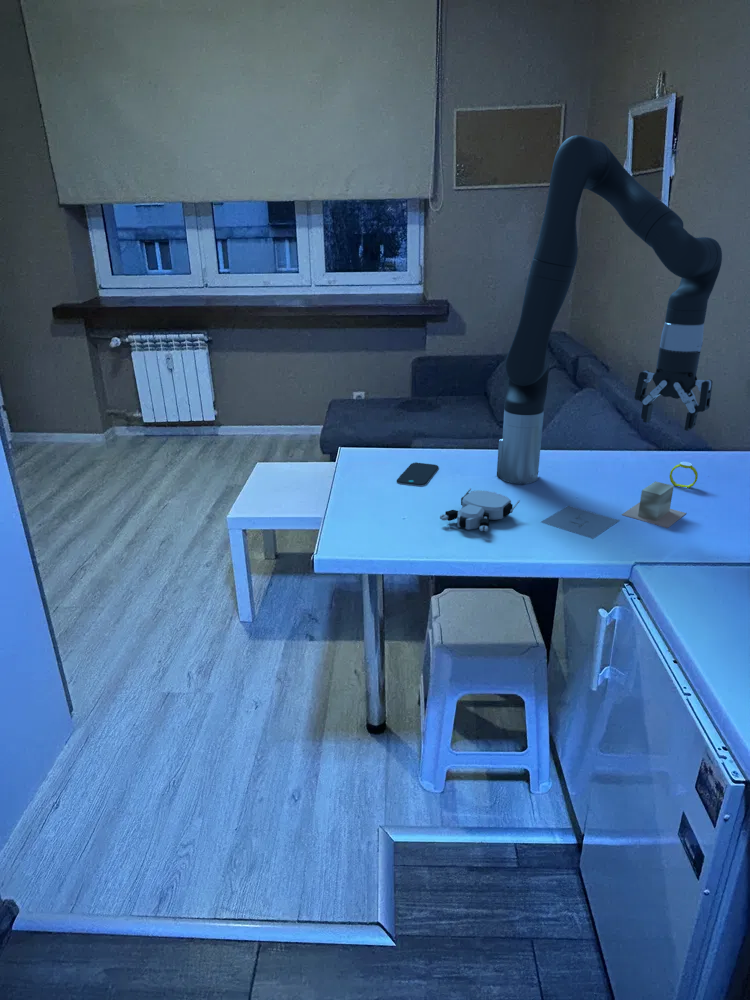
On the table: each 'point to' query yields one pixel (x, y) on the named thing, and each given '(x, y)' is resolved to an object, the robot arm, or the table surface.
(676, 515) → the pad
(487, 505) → the robot toy
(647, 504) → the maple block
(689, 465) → the watch
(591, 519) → the board
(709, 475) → the table surface
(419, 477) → the smartphone
